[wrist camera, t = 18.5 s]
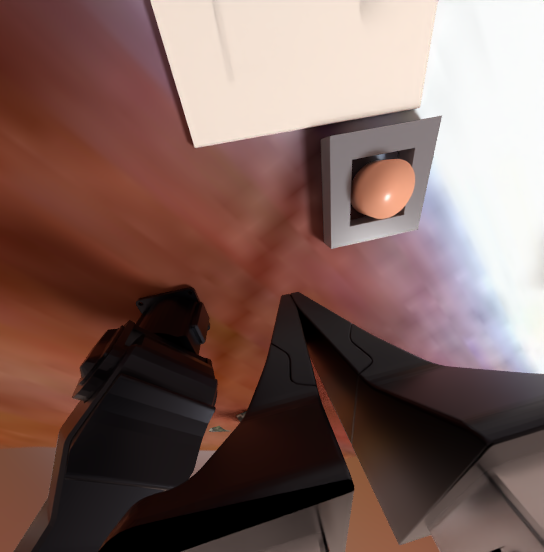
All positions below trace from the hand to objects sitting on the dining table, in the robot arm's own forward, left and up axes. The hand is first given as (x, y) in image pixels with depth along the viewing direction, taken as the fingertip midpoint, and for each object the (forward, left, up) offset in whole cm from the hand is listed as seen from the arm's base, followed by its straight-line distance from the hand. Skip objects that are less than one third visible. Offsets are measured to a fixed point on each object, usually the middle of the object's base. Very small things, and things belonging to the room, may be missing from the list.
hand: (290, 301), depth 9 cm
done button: (+12, +2, -12) cm, 17 cm away
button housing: (+12, +2, -13) cm, 18 cm away
